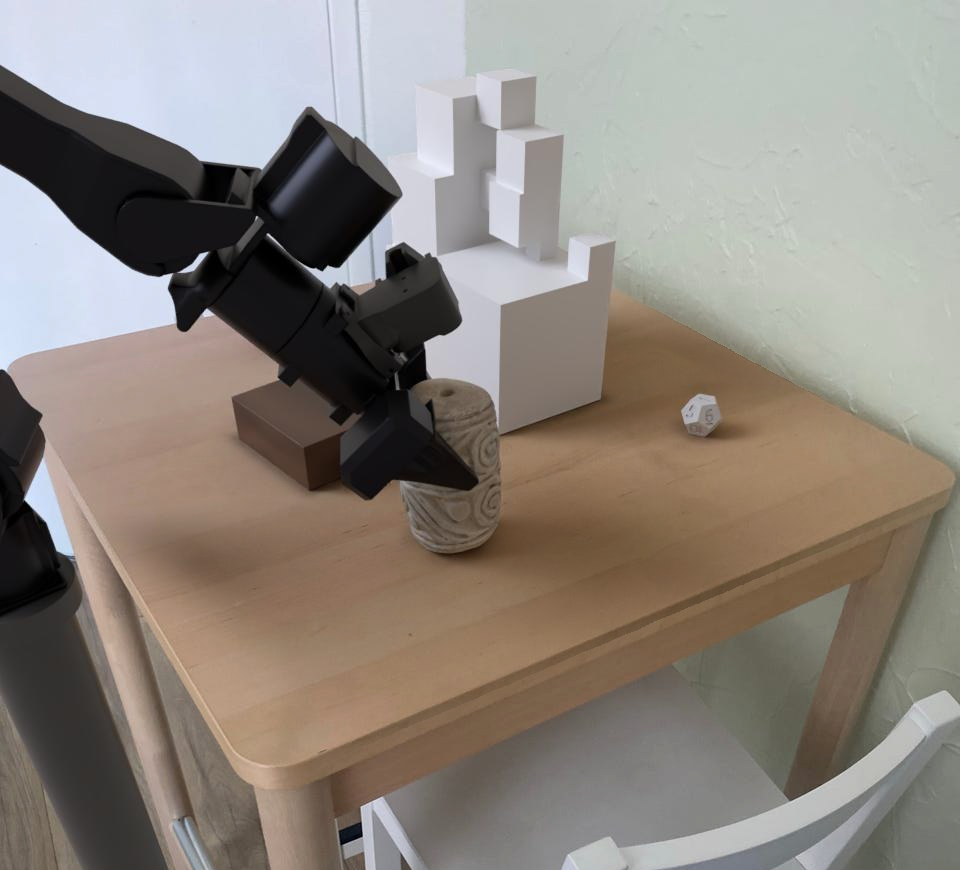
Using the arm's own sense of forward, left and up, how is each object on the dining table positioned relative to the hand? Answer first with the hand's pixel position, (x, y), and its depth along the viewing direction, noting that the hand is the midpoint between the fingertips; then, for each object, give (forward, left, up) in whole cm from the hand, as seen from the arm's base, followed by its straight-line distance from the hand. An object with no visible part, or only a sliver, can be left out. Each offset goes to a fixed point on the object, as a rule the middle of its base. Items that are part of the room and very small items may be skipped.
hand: (470, 462), depth 68 cm
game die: (+26, -1, -7) cm, 27 cm away
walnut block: (0, +19, -7) cm, 20 cm away
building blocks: (+19, +20, -7) cm, 28 cm away
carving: (-1, +1, -7) cm, 7 cm away
